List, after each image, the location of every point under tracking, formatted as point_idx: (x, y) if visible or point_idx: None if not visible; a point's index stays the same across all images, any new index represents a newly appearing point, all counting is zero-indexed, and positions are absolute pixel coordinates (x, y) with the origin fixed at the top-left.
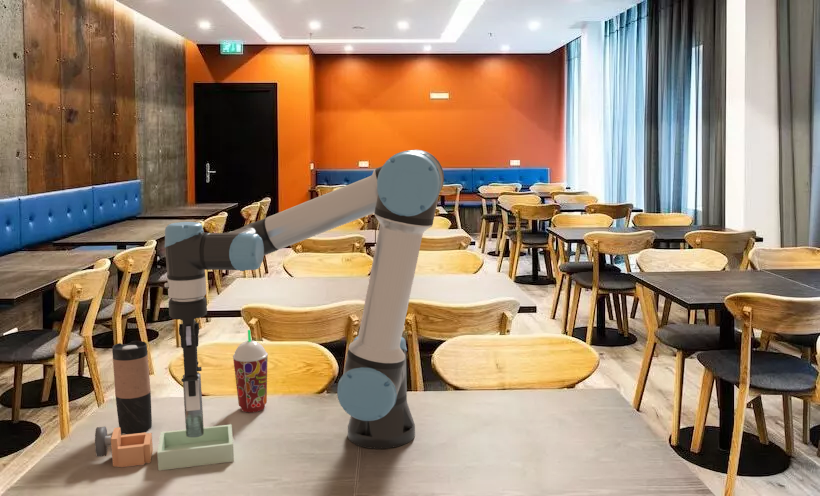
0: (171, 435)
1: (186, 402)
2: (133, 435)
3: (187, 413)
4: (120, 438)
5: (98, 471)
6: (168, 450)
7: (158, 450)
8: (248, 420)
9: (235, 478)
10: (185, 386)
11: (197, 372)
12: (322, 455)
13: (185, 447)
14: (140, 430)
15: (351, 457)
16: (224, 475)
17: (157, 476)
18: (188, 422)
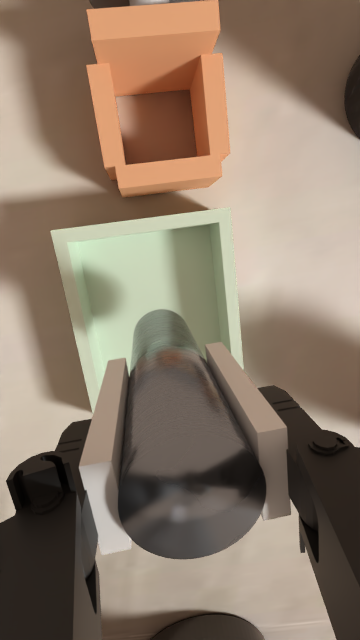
0: (219, 245)
1: (103, 381)
2: (209, 107)
3: (136, 350)
4: (189, 56)
5: (73, 28)
6: (67, 265)
7: (70, 230)
8: (351, 411)
9: (8, 434)
10: (89, 436)
11: (285, 509)
12: (118, 581)
13: (190, 287)
14: (352, 116)
15: (102, 628)
16: (26, 407)
17: (27, 236)
18: (136, 339)
